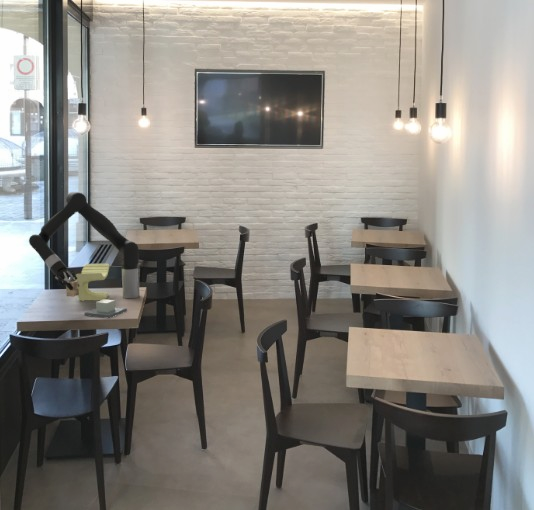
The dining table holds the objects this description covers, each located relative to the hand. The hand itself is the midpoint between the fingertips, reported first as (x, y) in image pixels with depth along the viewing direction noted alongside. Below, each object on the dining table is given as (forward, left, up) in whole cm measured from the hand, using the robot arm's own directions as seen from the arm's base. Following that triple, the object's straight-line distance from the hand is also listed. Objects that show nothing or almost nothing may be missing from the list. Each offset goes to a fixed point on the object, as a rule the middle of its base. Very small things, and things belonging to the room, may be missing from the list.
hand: (75, 288), depth 384 cm
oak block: (+1, -1, -4) cm, 5 cm away
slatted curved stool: (-14, -32, -14) cm, 38 cm away
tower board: (-15, +7, -14) cm, 21 cm away
